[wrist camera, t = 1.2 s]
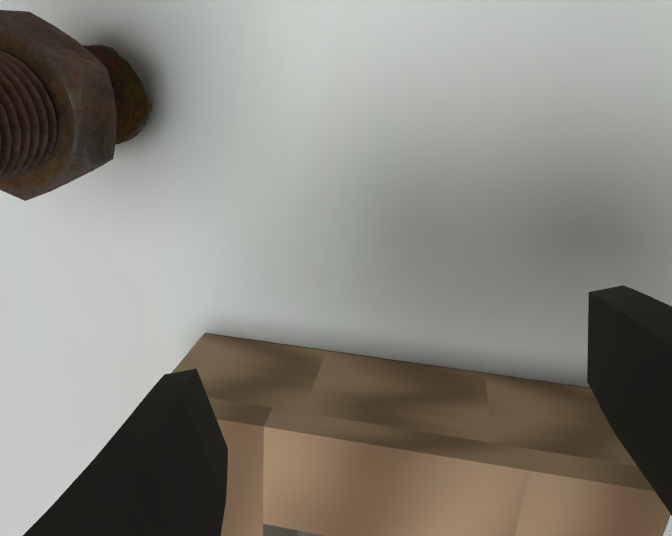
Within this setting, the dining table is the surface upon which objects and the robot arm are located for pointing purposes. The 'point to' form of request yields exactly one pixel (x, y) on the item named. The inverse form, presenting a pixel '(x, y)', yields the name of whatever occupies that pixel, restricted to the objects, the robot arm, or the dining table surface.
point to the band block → (412, 449)
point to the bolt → (60, 105)
